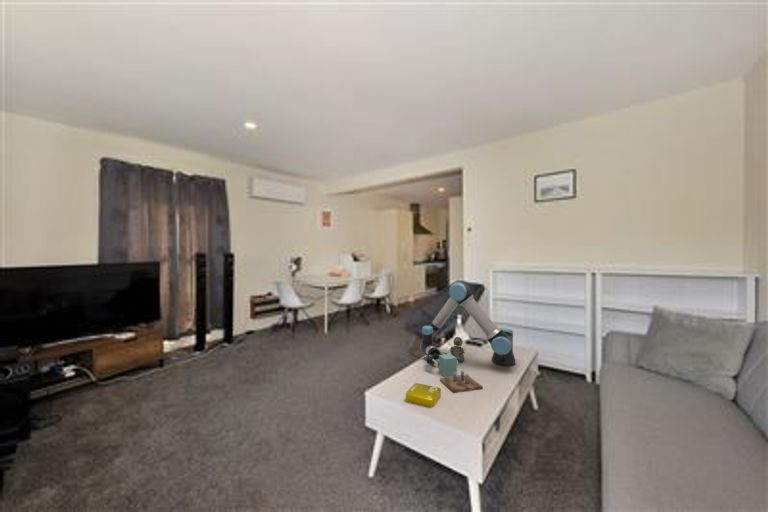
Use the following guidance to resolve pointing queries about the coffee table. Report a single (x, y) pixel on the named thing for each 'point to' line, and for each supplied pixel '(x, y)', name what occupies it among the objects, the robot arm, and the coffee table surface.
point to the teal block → (447, 365)
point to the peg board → (475, 385)
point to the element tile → (423, 395)
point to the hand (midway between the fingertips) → (447, 364)
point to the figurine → (457, 349)
